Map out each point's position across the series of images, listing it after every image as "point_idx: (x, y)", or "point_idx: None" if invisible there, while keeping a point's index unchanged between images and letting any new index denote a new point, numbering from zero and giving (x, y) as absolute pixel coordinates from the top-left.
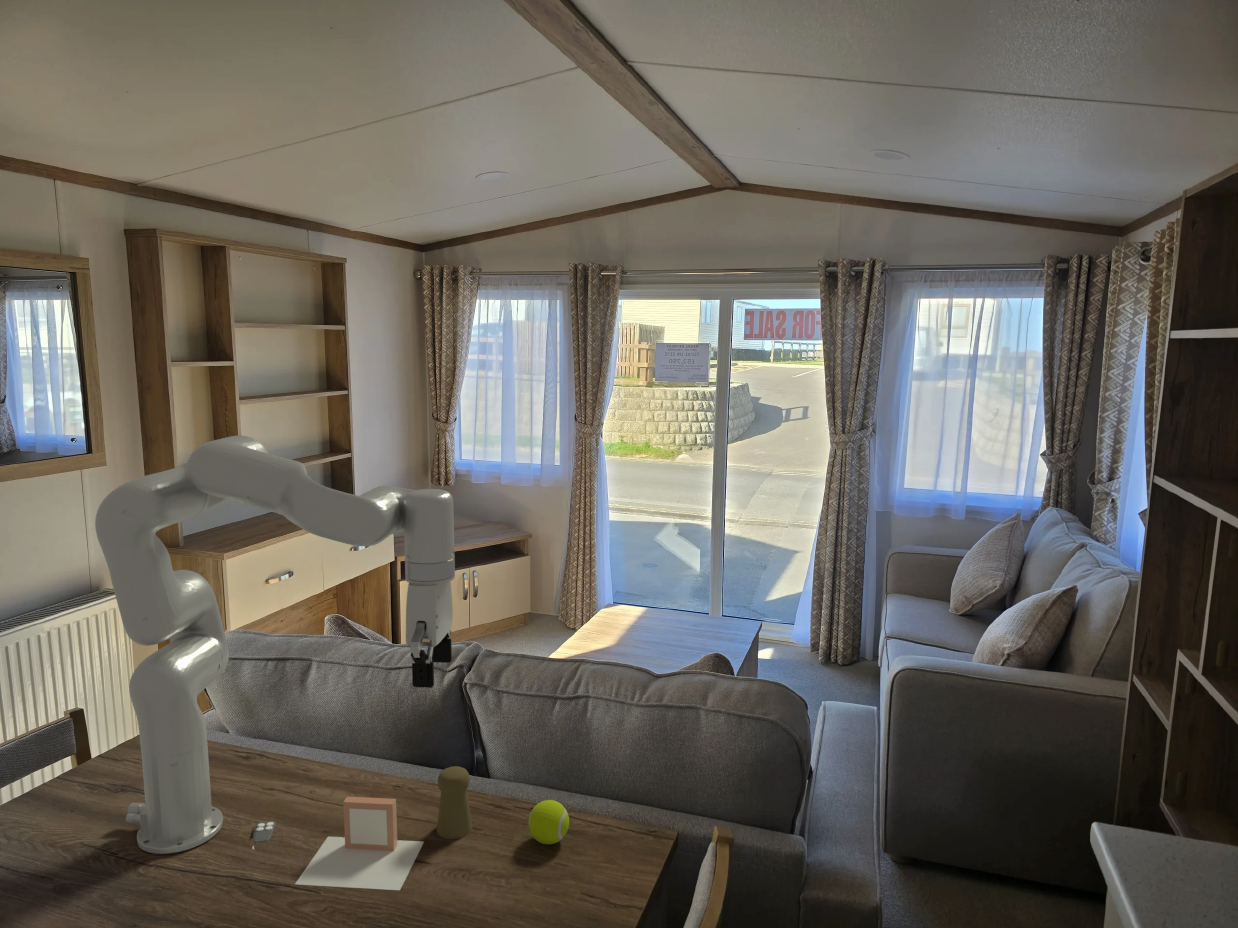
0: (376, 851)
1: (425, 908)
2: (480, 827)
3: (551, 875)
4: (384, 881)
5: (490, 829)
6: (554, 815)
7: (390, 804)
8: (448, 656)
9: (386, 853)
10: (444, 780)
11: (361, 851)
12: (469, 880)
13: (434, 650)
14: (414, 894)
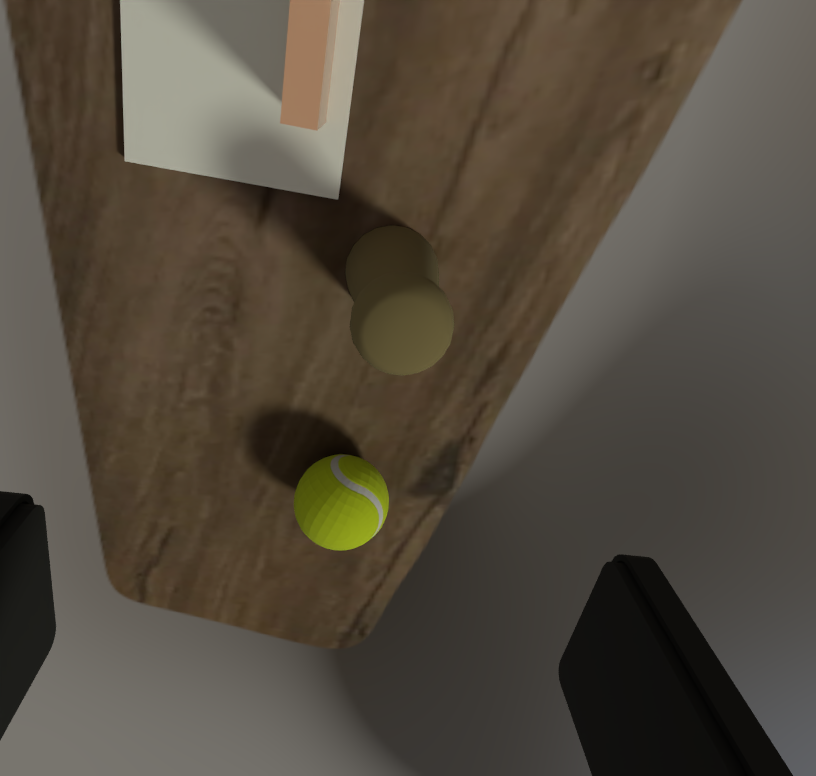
0: None
1: (81, 233)
2: None
3: (222, 480)
4: (156, 110)
5: None
6: (310, 534)
7: (281, 114)
8: (574, 715)
9: None
10: (364, 306)
11: None
12: (195, 324)
13: (653, 673)
14: (130, 199)
